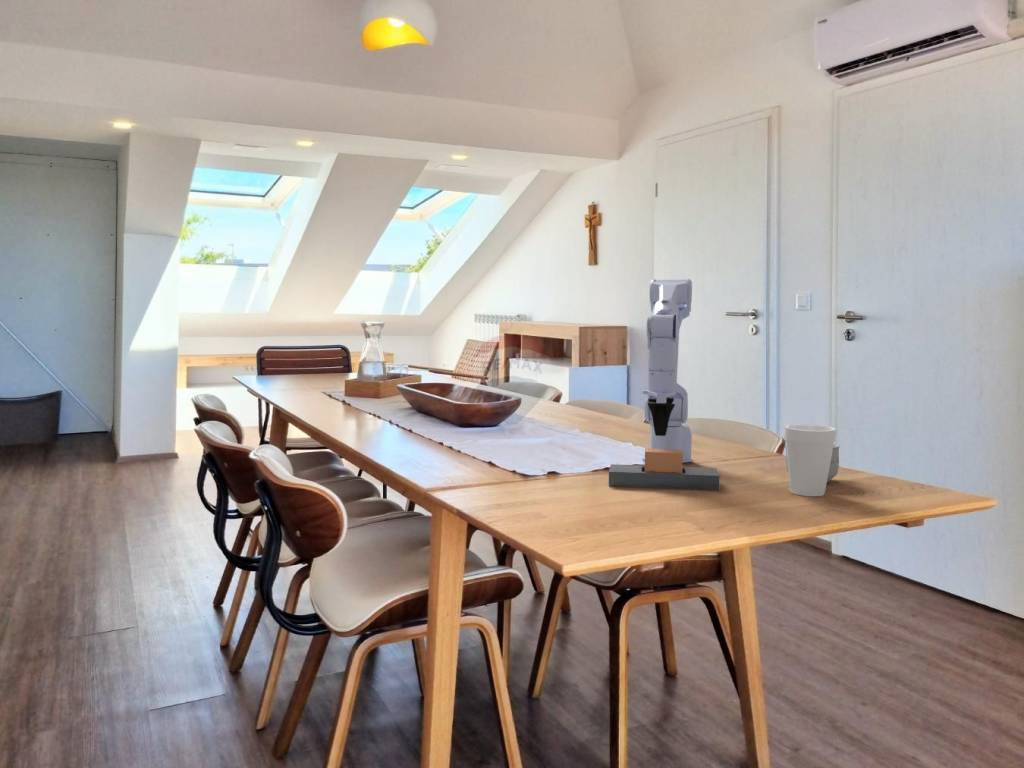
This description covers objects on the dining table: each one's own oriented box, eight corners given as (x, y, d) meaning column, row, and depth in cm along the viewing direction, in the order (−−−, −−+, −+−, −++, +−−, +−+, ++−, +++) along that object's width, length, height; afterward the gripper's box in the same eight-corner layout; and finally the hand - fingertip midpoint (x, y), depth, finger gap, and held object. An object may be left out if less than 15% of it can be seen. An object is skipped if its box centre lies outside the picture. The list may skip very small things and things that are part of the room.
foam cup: (827, 500, 156) (829, 432, 155) (777, 494, 161) (780, 428, 160) (836, 490, 164) (839, 426, 163) (789, 485, 169) (791, 422, 168)
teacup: (812, 488, 166) (814, 449, 165) (772, 478, 176) (774, 441, 175) (859, 482, 172) (861, 444, 172) (819, 473, 182) (820, 437, 181)
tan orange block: (681, 482, 171) (682, 449, 170) (682, 486, 167) (682, 453, 166) (644, 481, 172) (645, 448, 172) (644, 485, 168) (644, 451, 168)
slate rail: (716, 482, 172) (716, 468, 171) (719, 490, 164) (719, 475, 164) (610, 478, 175) (610, 464, 175) (608, 486, 168) (608, 471, 167)
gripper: (643, 367, 184) (642, 427, 185) (642, 372, 170) (641, 437, 171) (675, 368, 183) (673, 428, 184) (677, 373, 168) (675, 438, 170)
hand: (660, 432), depth 177 cm, fingers open, 7 cm apart
